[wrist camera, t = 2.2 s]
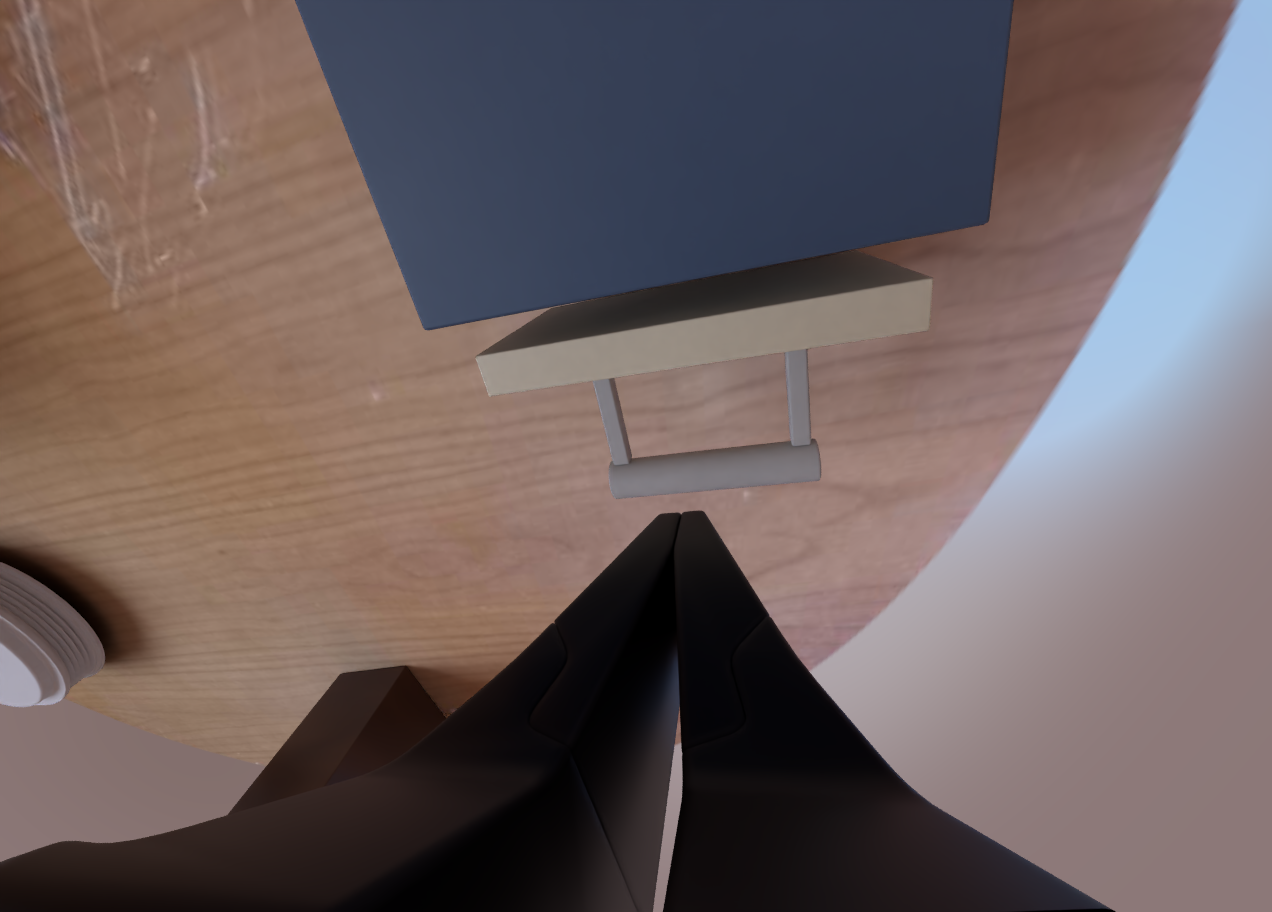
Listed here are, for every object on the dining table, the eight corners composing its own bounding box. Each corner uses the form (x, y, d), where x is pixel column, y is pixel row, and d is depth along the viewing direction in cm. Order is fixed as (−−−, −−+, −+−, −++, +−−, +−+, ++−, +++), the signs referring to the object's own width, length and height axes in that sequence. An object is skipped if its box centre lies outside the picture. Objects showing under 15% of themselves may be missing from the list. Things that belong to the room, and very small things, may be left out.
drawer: (856, 419, 19) (917, 515, 13) (588, 450, 22) (540, 542, 16) (858, -458, 10) (1048, -1351, 4) (403, -231, 13) (134, -599, 7)
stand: (405, 665, 33) (294, 831, 24) (447, 720, 36) (359, 889, 27) (340, 673, 35) (213, 831, 26) (383, 725, 37) (281, 886, 29)
